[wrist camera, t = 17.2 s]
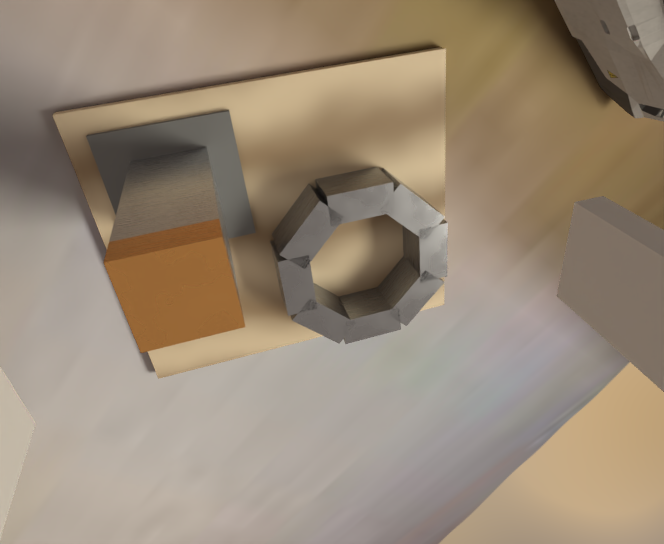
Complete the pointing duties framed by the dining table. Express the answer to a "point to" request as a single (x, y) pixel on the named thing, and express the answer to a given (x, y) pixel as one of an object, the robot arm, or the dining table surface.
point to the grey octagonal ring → (399, 285)
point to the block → (173, 252)
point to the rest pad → (175, 137)
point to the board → (295, 176)
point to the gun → (622, 49)
